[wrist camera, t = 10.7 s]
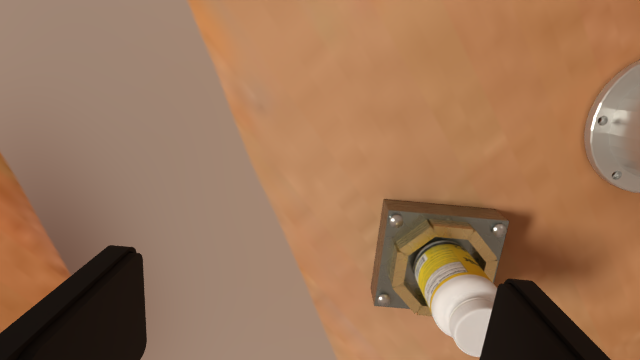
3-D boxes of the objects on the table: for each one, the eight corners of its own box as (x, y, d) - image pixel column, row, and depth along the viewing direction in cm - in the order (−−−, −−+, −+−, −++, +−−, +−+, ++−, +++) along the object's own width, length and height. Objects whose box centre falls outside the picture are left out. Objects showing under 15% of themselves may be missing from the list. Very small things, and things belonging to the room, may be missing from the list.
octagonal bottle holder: (494, 209, 37) (518, 228, 32) (474, 297, 40) (492, 326, 35) (383, 199, 37) (391, 216, 32) (370, 288, 40) (376, 316, 35)
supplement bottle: (478, 275, 36) (533, 349, 26) (425, 298, 36) (460, 377, 27) (457, 228, 34) (507, 288, 25) (402, 252, 35) (431, 319, 26)
